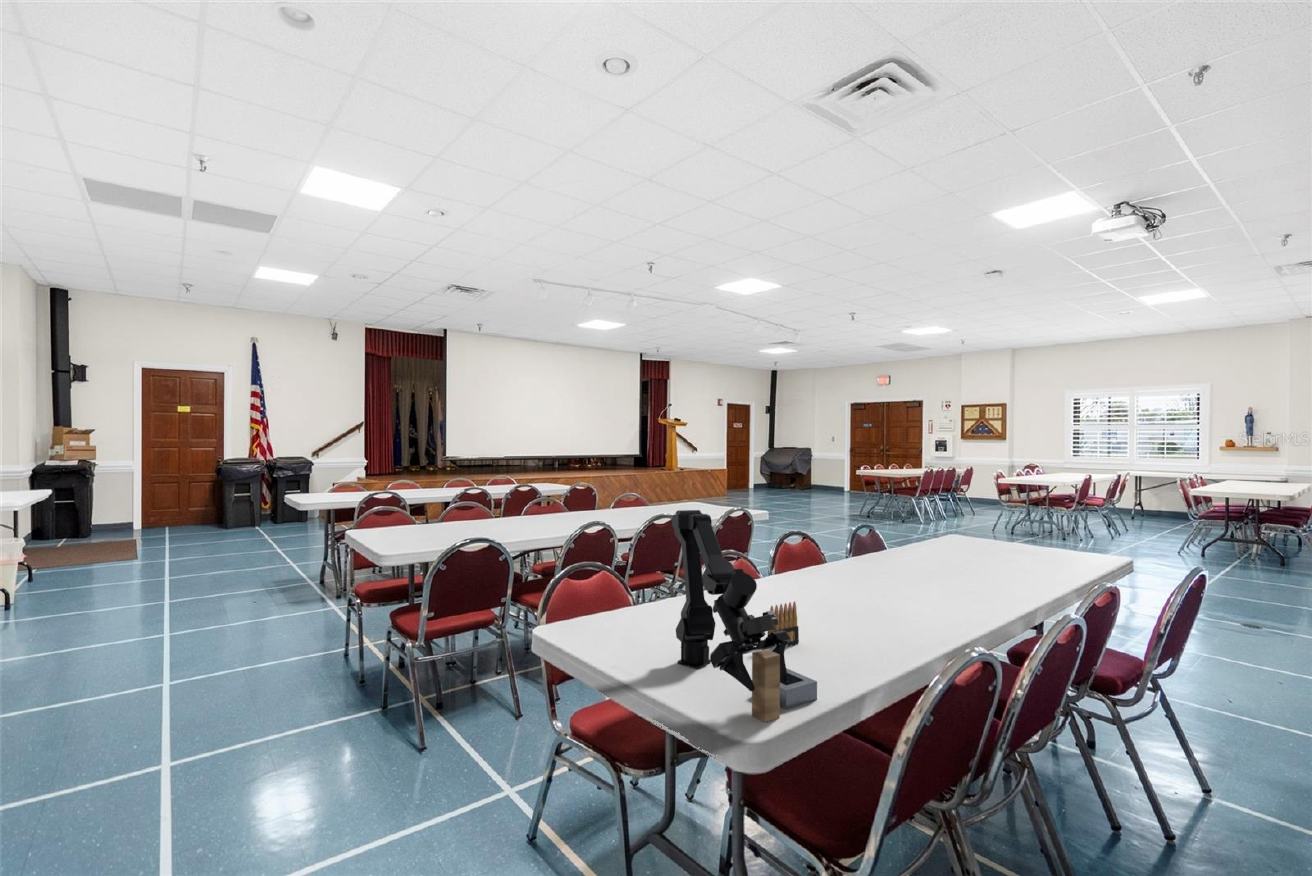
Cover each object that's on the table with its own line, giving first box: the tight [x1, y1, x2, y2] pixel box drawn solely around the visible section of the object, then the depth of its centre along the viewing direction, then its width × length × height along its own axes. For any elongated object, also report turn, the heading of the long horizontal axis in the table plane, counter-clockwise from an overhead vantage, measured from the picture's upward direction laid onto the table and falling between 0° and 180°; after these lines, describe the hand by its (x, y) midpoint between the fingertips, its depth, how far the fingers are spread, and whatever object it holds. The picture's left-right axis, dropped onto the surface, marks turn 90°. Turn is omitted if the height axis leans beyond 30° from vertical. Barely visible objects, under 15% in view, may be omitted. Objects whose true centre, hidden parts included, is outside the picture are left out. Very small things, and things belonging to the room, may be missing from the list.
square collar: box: [780, 667, 818, 710], centre depth 138 cm, size 9×9×4 cm
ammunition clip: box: [767, 600, 800, 648], centre depth 173 cm, size 11×2×12 cm, turn 124°
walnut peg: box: [751, 649, 781, 723], centre depth 127 cm, size 4×4×13 cm
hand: (770, 685), depth 126 cm, fingers open, 9 cm apart
